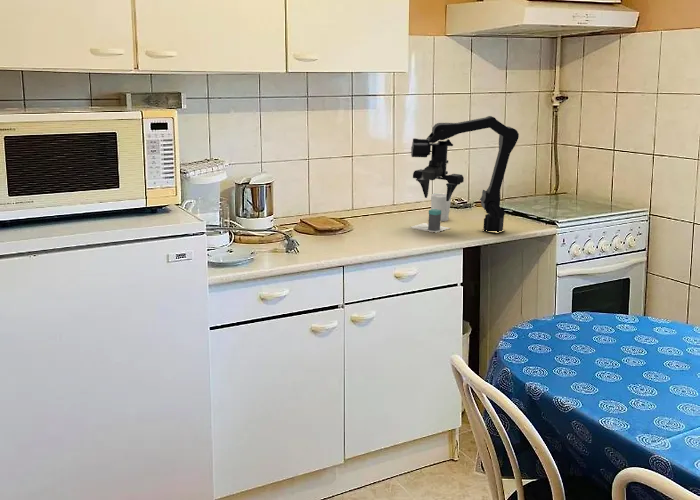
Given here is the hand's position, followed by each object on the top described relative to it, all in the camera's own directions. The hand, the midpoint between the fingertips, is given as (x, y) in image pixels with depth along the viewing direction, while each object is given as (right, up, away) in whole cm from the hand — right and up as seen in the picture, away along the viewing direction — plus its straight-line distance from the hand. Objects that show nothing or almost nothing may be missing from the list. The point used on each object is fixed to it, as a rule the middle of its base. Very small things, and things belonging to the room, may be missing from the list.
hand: (436, 199), depth 287 cm
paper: (-2, -11, +6) cm, 12 cm away
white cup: (+4, -7, +22) cm, 23 cm away
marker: (-1, -11, +3) cm, 12 cm away
